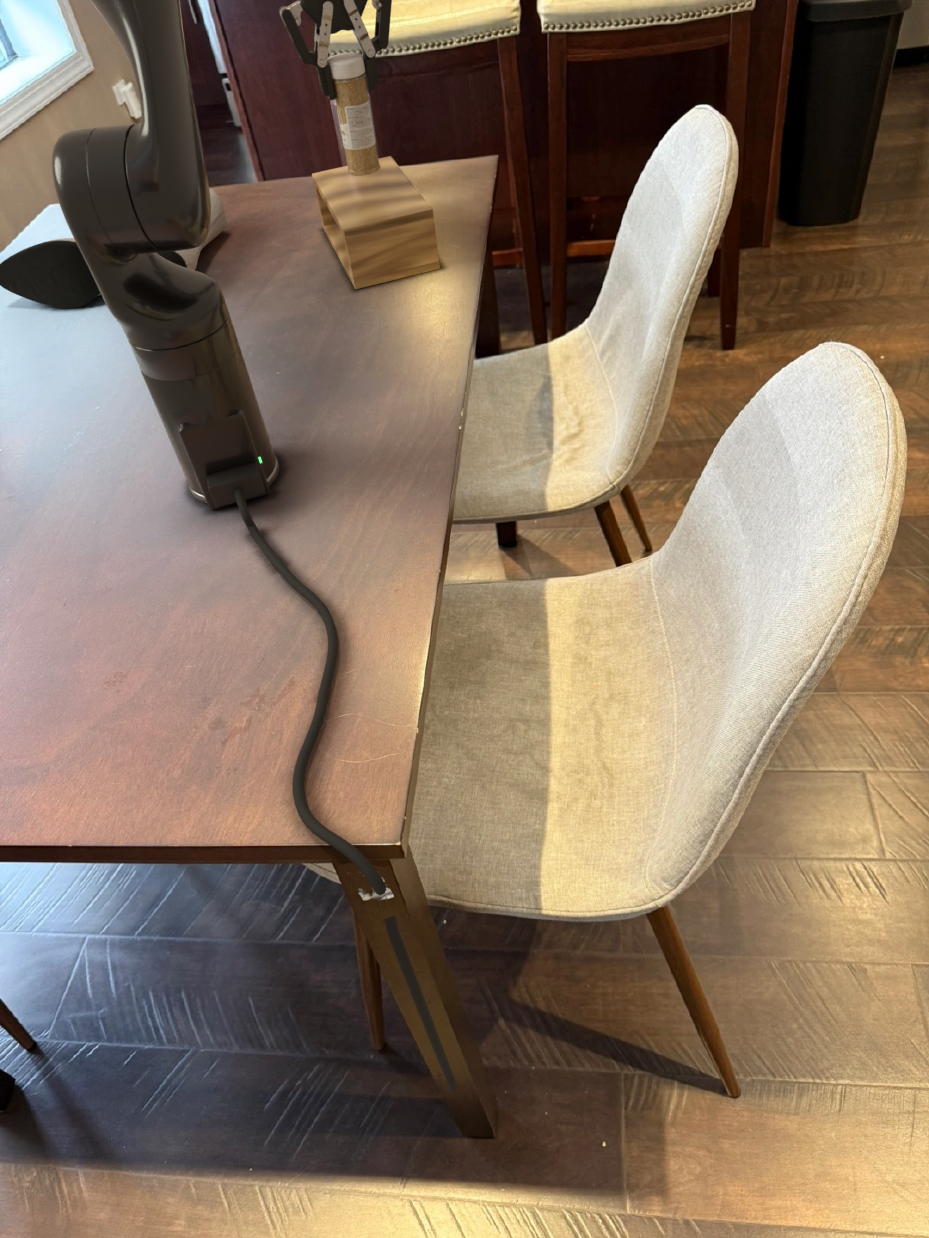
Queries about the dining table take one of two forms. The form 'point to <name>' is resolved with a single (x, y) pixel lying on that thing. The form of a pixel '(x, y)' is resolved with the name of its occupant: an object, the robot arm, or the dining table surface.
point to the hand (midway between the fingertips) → (351, 94)
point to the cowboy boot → (79, 267)
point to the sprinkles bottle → (354, 113)
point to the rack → (377, 223)
